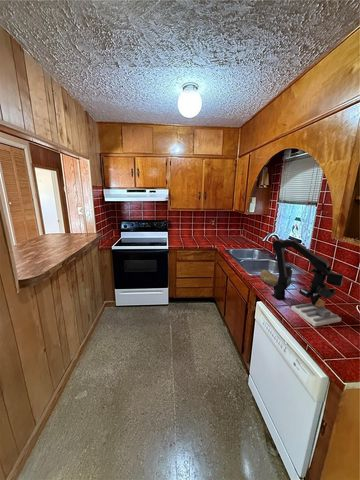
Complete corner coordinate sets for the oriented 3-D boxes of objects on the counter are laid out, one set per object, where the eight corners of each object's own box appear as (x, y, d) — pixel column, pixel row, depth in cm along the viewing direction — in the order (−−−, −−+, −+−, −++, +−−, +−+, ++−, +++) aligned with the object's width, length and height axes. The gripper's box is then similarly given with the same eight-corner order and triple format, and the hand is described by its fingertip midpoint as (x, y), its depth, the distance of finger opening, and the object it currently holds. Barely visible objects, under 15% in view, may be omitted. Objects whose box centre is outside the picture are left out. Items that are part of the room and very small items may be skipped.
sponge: (258, 276, 164) (260, 282, 145) (261, 268, 163) (263, 272, 144) (274, 282, 160) (279, 288, 141) (277, 273, 159) (282, 278, 140)
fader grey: (315, 313, 111) (316, 307, 110) (320, 312, 112) (322, 306, 111) (323, 319, 106) (324, 312, 105) (329, 318, 107) (330, 311, 106)
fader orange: (311, 304, 120) (312, 298, 119) (316, 303, 121) (317, 297, 120) (318, 309, 115) (320, 302, 114) (323, 308, 116) (325, 302, 115)
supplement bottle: (287, 278, 159) (290, 264, 156) (292, 282, 152) (295, 268, 149) (279, 278, 159) (281, 264, 156) (284, 282, 152) (286, 268, 149)
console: (291, 308, 119) (291, 304, 118) (314, 305, 123) (315, 300, 122) (314, 326, 104) (315, 321, 103) (340, 321, 108) (342, 316, 107)
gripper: (318, 289, 103) (312, 314, 107) (345, 285, 107) (339, 310, 111) (300, 279, 113) (296, 303, 117) (326, 276, 118) (321, 299, 122)
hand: (313, 304), depth 116 cm, fingers closed
